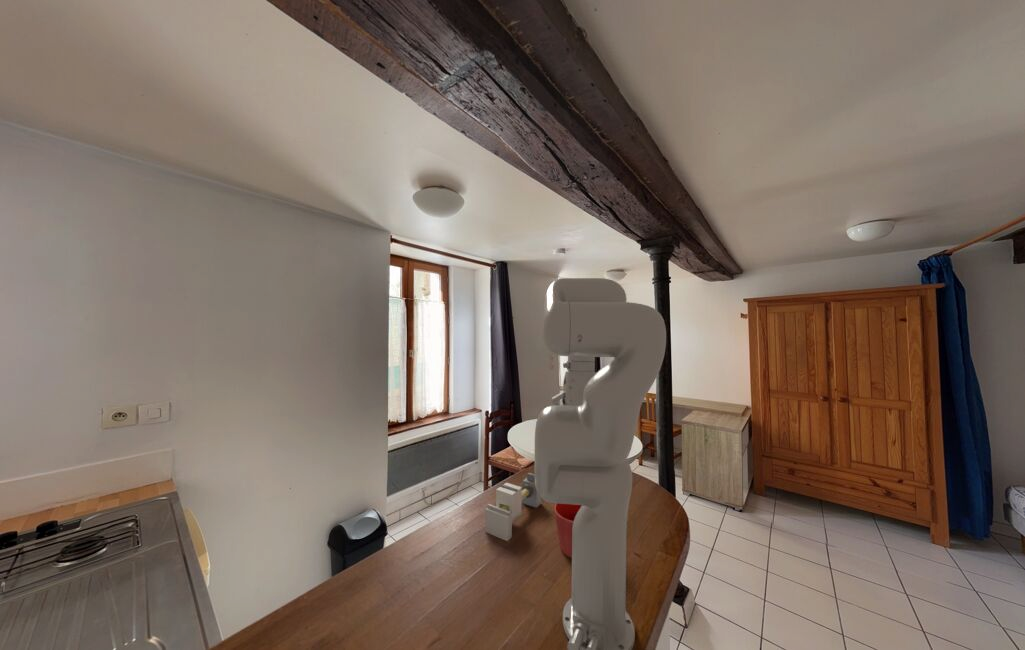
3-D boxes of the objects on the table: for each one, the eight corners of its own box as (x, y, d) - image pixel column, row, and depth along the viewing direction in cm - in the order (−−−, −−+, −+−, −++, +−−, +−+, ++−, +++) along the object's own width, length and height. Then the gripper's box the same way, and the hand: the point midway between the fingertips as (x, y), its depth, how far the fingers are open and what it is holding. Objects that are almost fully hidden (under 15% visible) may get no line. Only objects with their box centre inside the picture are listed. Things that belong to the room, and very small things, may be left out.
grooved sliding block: (511, 523, 84) (512, 494, 84) (495, 517, 87) (496, 488, 87) (521, 514, 88) (521, 486, 89) (505, 509, 91) (506, 481, 91)
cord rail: (507, 541, 81) (508, 505, 81) (485, 531, 84) (486, 497, 85) (543, 504, 98) (544, 475, 99) (524, 498, 102) (524, 469, 102)
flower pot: (547, 554, 76) (547, 513, 76) (562, 530, 86) (562, 493, 86) (591, 570, 71) (591, 526, 71) (601, 542, 81) (602, 504, 81)
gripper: (556, 368, 85) (555, 432, 85) (615, 368, 88) (615, 430, 88) (548, 365, 93) (547, 425, 92) (603, 366, 96) (602, 423, 95)
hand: (580, 427), depth 90 cm, fingers open, 9 cm apart
